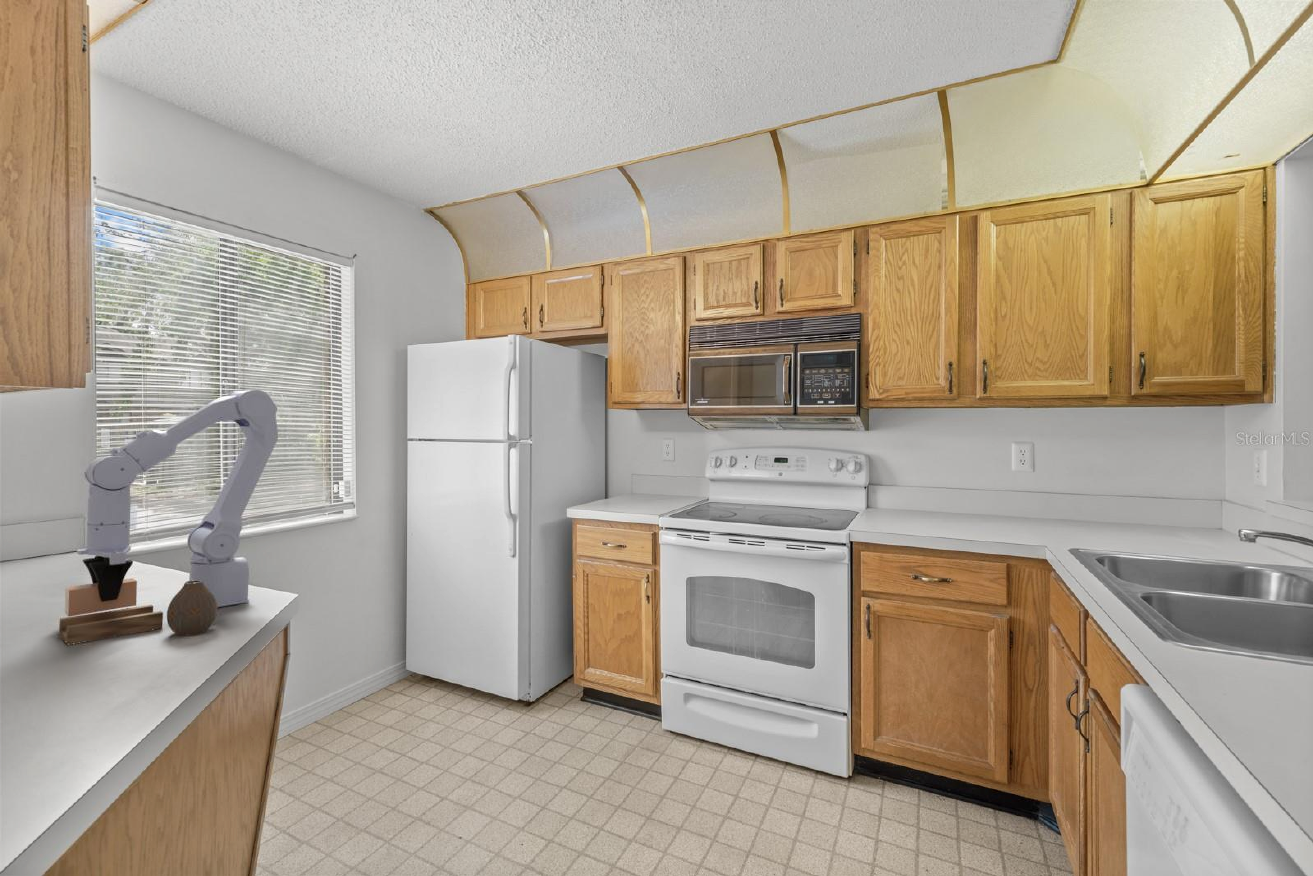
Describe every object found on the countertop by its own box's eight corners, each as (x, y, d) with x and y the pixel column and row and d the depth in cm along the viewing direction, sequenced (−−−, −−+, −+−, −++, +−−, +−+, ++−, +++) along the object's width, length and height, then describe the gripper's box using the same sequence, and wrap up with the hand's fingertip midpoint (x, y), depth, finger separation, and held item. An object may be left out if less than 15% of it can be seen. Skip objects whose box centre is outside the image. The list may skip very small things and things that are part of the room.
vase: (220, 632, 104) (222, 582, 104) (169, 641, 99) (172, 588, 99) (211, 623, 109) (213, 575, 109) (162, 631, 104) (165, 580, 104)
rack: (150, 620, 109) (151, 604, 109) (162, 628, 105) (163, 612, 105) (58, 635, 100) (59, 618, 100) (67, 645, 95) (68, 627, 95)
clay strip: (131, 602, 112) (132, 578, 112) (136, 605, 110) (136, 581, 110) (64, 612, 105) (65, 587, 104) (68, 616, 103) (68, 590, 103)
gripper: (69, 520, 109) (67, 595, 109) (88, 530, 100) (85, 611, 100) (120, 517, 115) (118, 588, 115) (142, 526, 106) (139, 602, 106)
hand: (106, 598), depth 108 cm, fingers closed on clay strip, 3 cm apart
